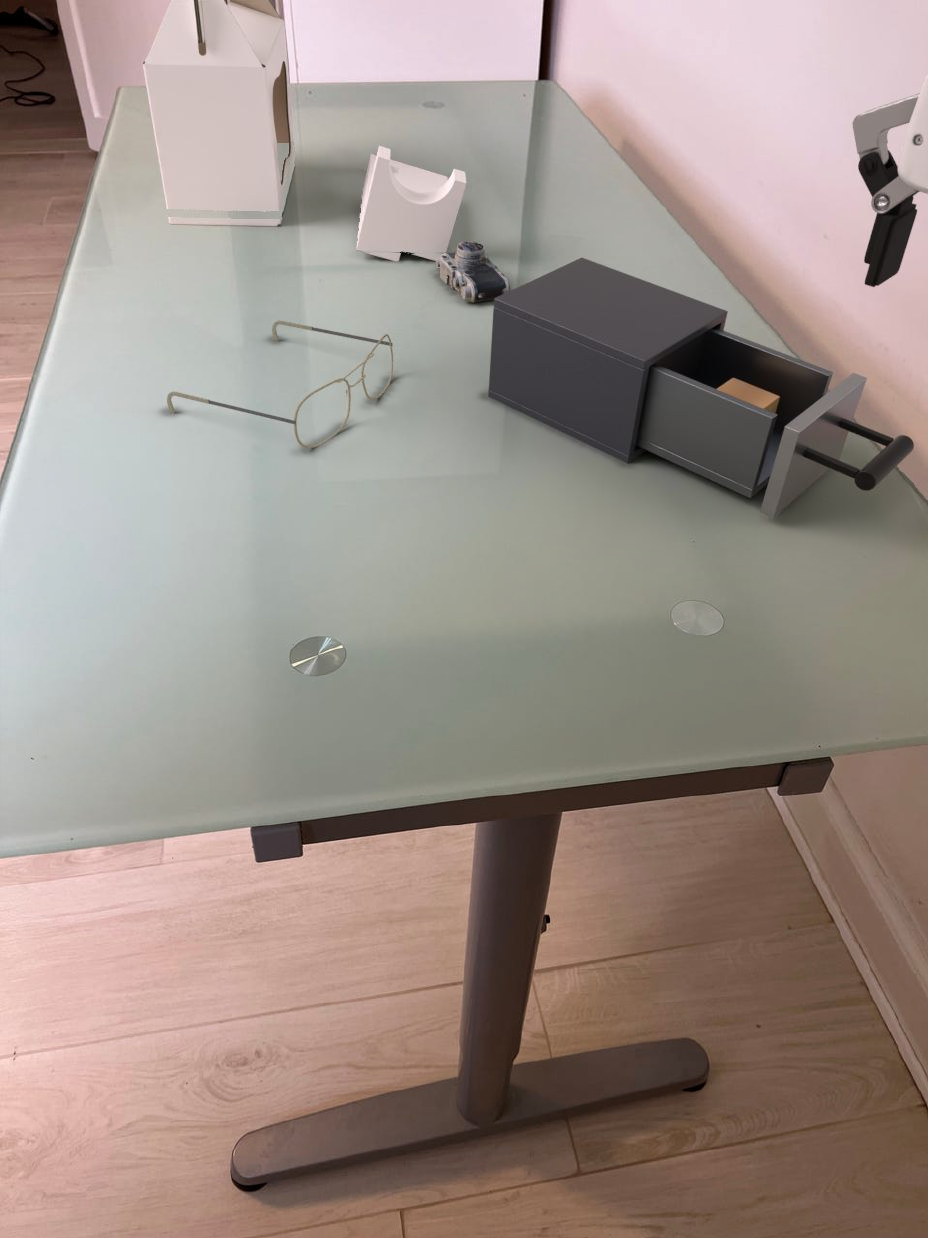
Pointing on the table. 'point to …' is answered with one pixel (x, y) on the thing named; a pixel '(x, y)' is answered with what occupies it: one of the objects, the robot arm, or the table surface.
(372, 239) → the white notched cradle
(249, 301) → the table surface
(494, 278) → the camera
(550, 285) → the cabinet
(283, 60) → the gable box
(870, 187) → the robot arm
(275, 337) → the eyeglasses
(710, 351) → the pull-out drawer
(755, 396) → the block
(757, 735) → the table surface
